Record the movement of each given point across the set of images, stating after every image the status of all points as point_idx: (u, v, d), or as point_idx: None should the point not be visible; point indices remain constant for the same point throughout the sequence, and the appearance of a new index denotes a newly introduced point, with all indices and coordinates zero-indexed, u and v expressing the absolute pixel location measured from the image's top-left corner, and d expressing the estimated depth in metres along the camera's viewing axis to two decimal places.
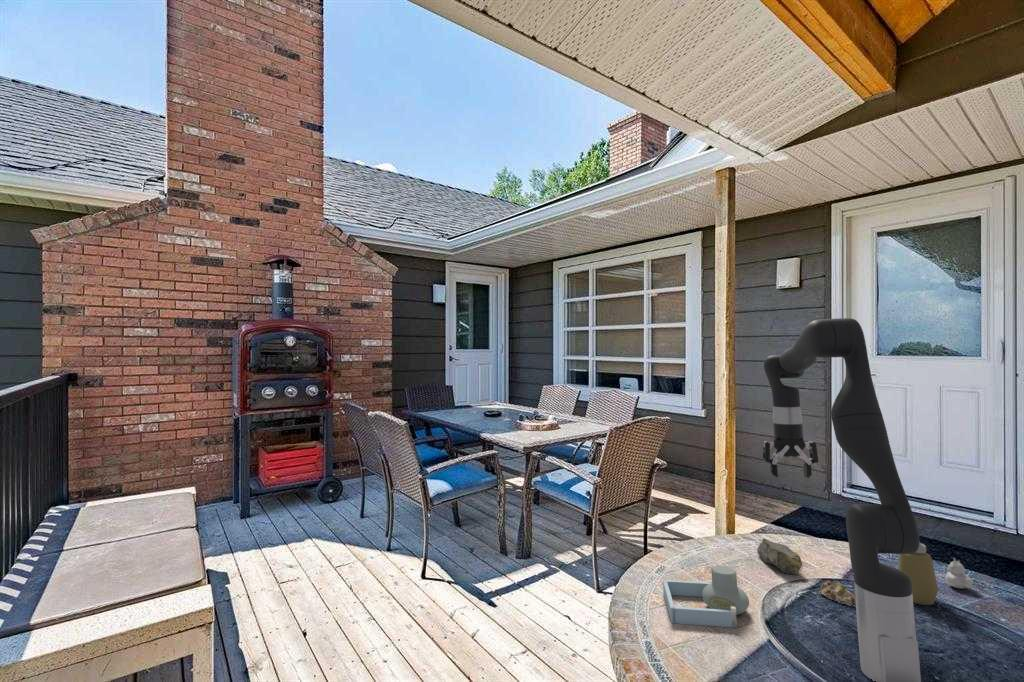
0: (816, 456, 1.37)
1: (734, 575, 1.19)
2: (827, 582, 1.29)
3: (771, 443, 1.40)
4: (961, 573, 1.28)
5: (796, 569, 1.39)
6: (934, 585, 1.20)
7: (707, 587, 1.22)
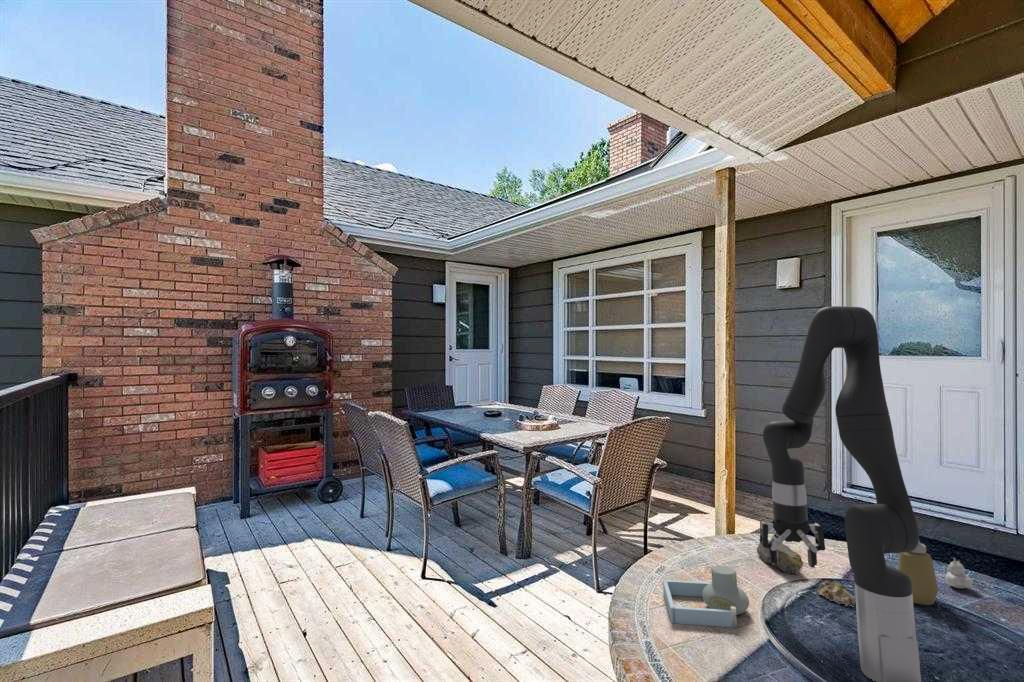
0: (823, 543, 1.16)
1: (734, 575, 1.19)
2: (825, 582, 1.29)
3: (770, 525, 1.20)
4: (961, 573, 1.28)
5: (797, 568, 1.40)
6: (934, 585, 1.20)
7: (707, 587, 1.22)
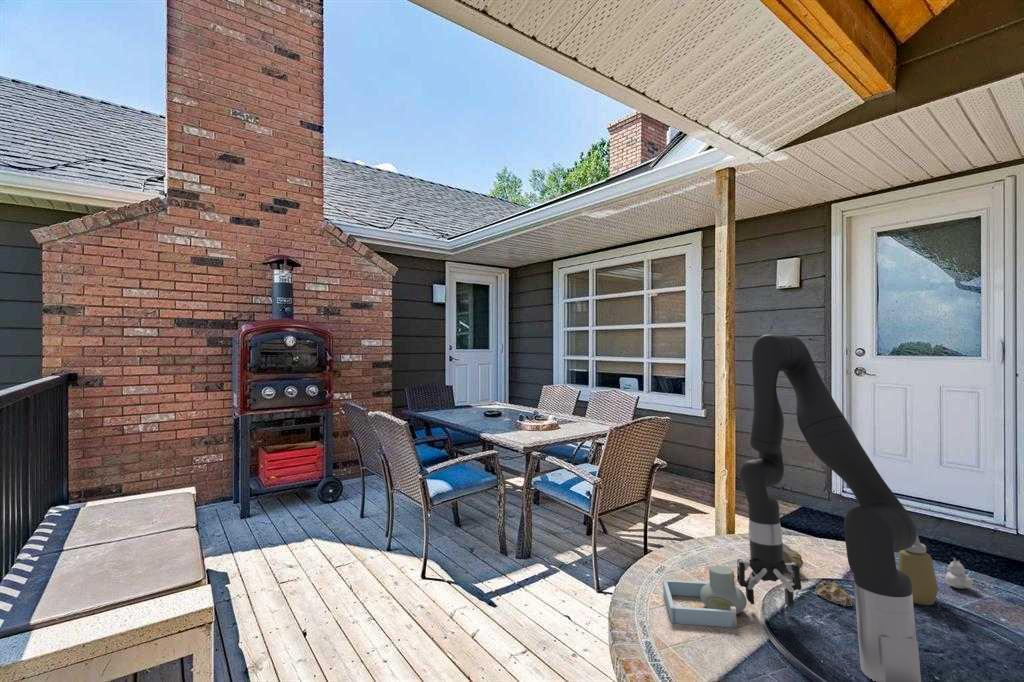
0: (799, 582, 1.17)
1: (732, 575, 1.19)
2: (823, 582, 1.29)
3: (746, 563, 1.20)
4: (961, 573, 1.28)
5: None
6: (934, 585, 1.20)
7: (705, 587, 1.22)
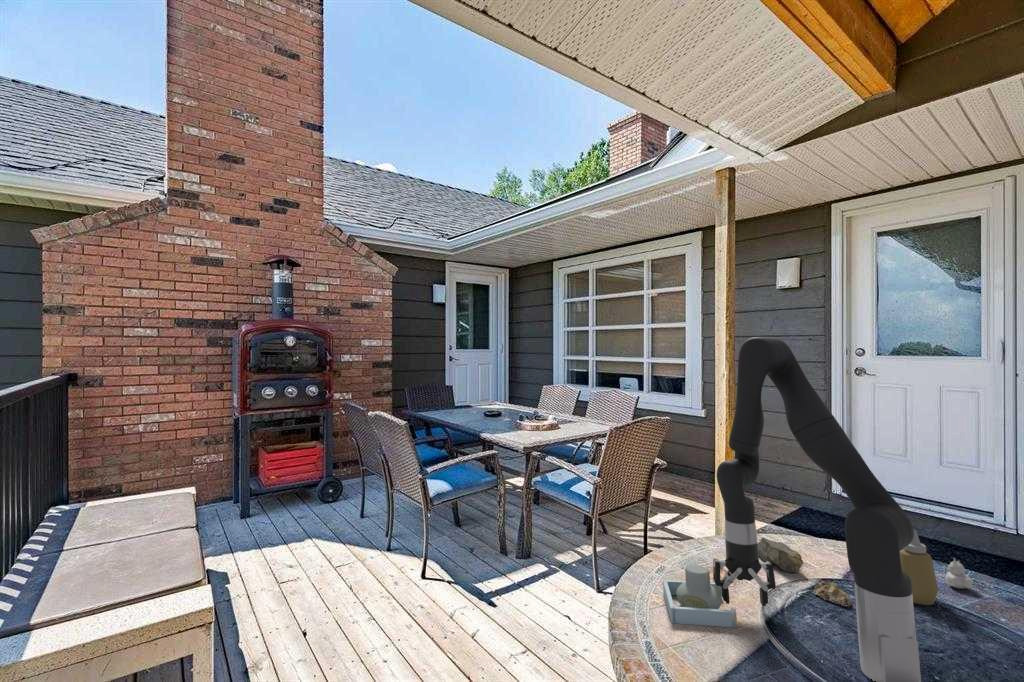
0: (773, 581, 1.18)
1: (707, 574, 1.20)
2: (821, 582, 1.29)
3: (722, 563, 1.21)
4: (961, 573, 1.28)
5: (797, 567, 1.40)
6: (934, 585, 1.20)
7: (681, 586, 1.23)
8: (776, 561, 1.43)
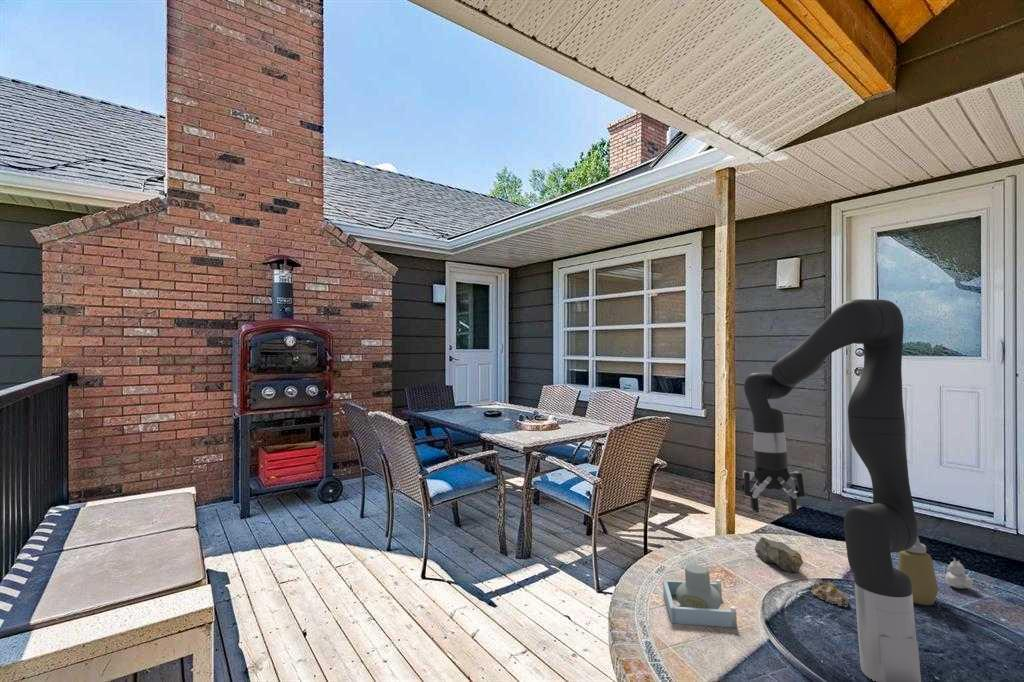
0: (802, 489, 1.20)
1: (707, 574, 1.20)
2: (819, 582, 1.29)
3: (751, 473, 1.23)
4: (961, 573, 1.28)
5: (797, 567, 1.41)
6: (934, 585, 1.20)
7: (681, 586, 1.23)
8: (776, 561, 1.44)
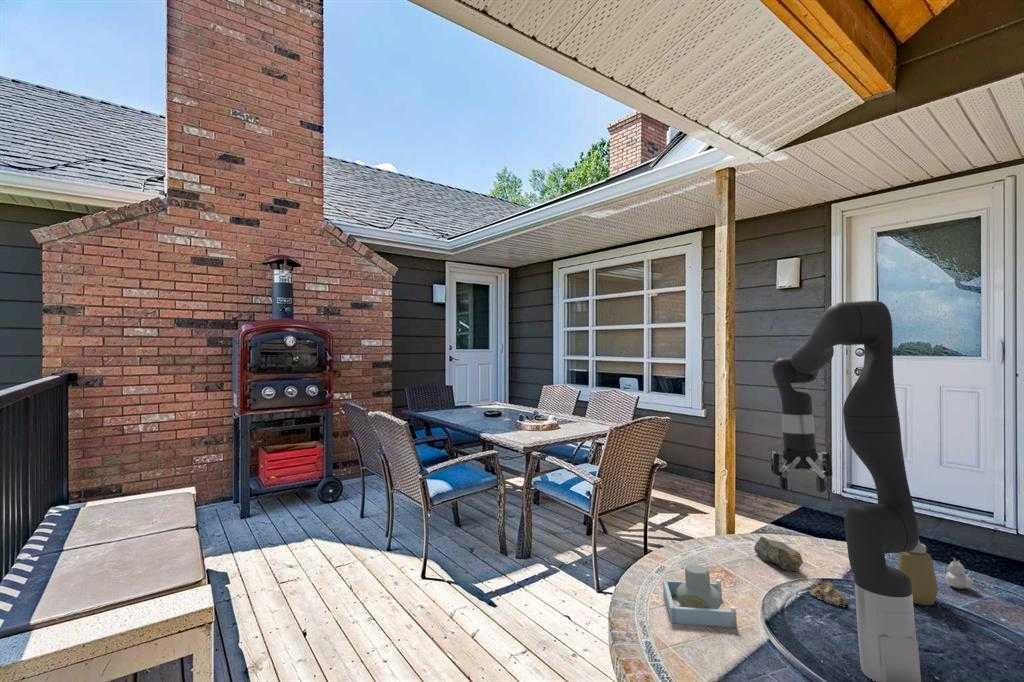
0: (830, 469, 1.25)
1: (707, 574, 1.20)
2: (817, 582, 1.29)
3: (780, 454, 1.28)
4: (961, 573, 1.28)
5: (797, 566, 1.41)
6: (934, 585, 1.20)
7: (681, 586, 1.23)
8: (776, 560, 1.44)
